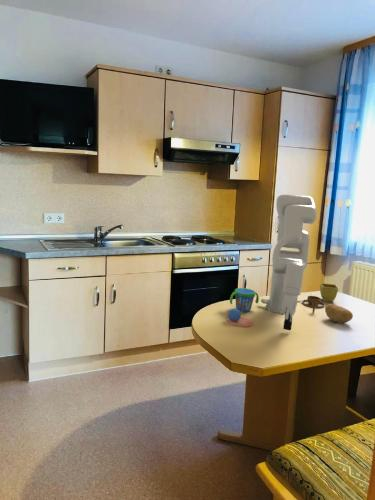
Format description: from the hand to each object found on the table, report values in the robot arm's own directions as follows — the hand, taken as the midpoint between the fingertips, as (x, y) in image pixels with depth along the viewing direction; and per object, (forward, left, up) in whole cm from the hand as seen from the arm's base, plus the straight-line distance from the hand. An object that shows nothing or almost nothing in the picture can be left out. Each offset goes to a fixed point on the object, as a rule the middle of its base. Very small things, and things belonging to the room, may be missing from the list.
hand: (287, 329), depth 183 cm
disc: (-22, 0, -2) cm, 22 cm away
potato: (+19, +30, -2) cm, 36 cm away
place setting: (+3, +48, -2) cm, 48 cm away
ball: (-25, -1, +2) cm, 25 cm away
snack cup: (-26, +18, -2) cm, 32 cm away
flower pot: (+10, +66, -2) cm, 67 cm away
